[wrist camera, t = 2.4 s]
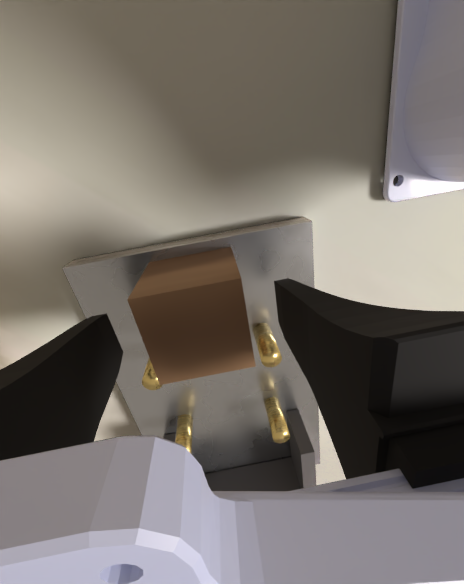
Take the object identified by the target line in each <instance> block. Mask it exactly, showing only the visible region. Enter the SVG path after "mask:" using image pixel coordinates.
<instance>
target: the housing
mask: <svg viewBox="0 0 464 584" xmlns="http://www.w3.org/2000/svg"><path fill="white" fill-rule="evenodd" d="M287 420H288V430H289V434H290V448H291V457H289V458H284V459H279V460H273V461H268V462H263V463H258V464H253V465H248V466H243V467H238V468H233V469H228V470H223V471H218V472H213V473H208V474H204V475H205V477H206V480H207V483H208V486H209V488H210V489H211V491H292V490H297V489H302V488H307V487H312V486H316V470H315V452H314V449H313V446H312V444H311V441H310V439H309V436H308V433H307V431H306V428H305V426H304V423H303V420H302V418H301V415H300V413H299V410H298V409H295V410H290V411H287ZM164 439H167V440H170V441H172V442H175V439H176V433H173V434H168V435H164Z"/></svg>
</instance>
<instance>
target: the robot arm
mask: <svg viewBox="0 0 464 584" xmlns="http://www.w3.org/2000/svg"><path fill="white" fill-rule="evenodd" d="M396 176H398V182H397V183H396V185H393V180H394V178H395V177H396ZM462 189H464V0H398V9H397V22H396V34H395V47H394V60H393V72H392V85H391V98H390V110H389V123H388V136H387V148H386V161H385V174H384V186H383V197H384V198H385V200H387V201H390V202H398V201H404V200H409V199H414V198H420V197H425V196H430V195H436V194H441V193H446V192H451V191H457V190H462ZM274 286H275V295H276V304H277V314H278V322H279V325H280V328H281V330H282V333H283V336H284V338H285V340H286V342H287V344H288V346H289V348H290V350H291V352H292V353H293V355H294V357H295V359H296V361H297V363H298V364H299V366H300V368H301V370H302V372H303V373H304V375H305V377H306V379H307V381H308V383H309V385H310V387H311V389H312V392H313V394H314V396H315V399H316V401H317V404H318V406H319V409H320V411H321V414H322V416H323V419H324V421H325V424H326V426H327V429H328V431H329V434H330V436H331V439H332V442H333V444H334V447H335V450H336V452H337V455H338V458H339V460H340V463H341V466H342V468H343V471H344V474H345V477H346V480H341V481H336V482H331V483H326V484H321V485H317V486H312V487H307V488H302V489H297V490H292V491H211V489H210V488H209V486H208V483H207V480H206V477H205V475H204V472H203V469H202V466H201V465H200V464H199V462H198V461H197V460H196V459H195V458H194V457H193V455H192V454H191V453H190V452H189V451H188V450H187V449H186V447H184V446H183V445H181V444H178V443H175V442H172V441H170V440H167V439H164V438H161V437H158V436H156V435H144V436H120V437H115V438H110V439H105V440H100V441H95V442H94V439H95V435H96V431H97V428H98V426H99V423H100V420H101V417H102V415H103V412H104V410H105V407H106V405H107V402H108V400H109V397H110V395H111V392H112V390H113V387H114V384H115V382H116V379H117V376H118V374H119V370H120V366H121V362H122V356H123V350H122V348H121V345H120V343H119V341H118V338H117V336H116V334H115V331H114V329H113V327H112V324H111V322H110V320H109V317H108V315H107V313H106V314H101V315H96V316H92V317H89V318H87V319H85V320H83V321H81V322H80V323H78V324H76V325H75V326H73V327H72V328H70V329H68V330H67V331H65V332H64V333H62V334H60V335H59V336H57V337H56V338H54V339H53V340H51V341H50V342H48V343H46V344H45V345H43V346H41V347H40V348H38V349H36V350H35V351H33V352H31V353H30V354H28V355H26V356H25V357H23V358H21V359H20V360H18V361H16V362H14V363H12V364H11V365H9V366H7V367H5V368H3V369H1V370H0V584H464V311H422V310H407V309H397V308H389V307H383V306H376V305H370V304H365V303H360V302H356V301H352V300H348V299H344V298H340V297H337V296H334V295H331V294H328V293H325V292H322V291H320V290H317V289H315V288H312V287H310V286H307V285H305V284H302V283H300V282H298V281H295V280H292V279H289V278H287V279H282V280H277V281H274Z"/></svg>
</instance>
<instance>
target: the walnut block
mask: <svg viewBox="0 0 464 584" xmlns="http://www.w3.org/2000/svg"><path fill="white" fill-rule="evenodd" d="M127 301H128V303H129V306H130V308H131V311H132V314H133V316H134V319H135V322H136V324H137V327H138V329H139V332H140V335H141V337H142V340H143V342H144V345H145V348H146V350H147V353H148V355H149V358H150V361H151V363H152V366H153V368H154V371H155V374H156V376H157V379H158V381H159V384H160V385H163V384H168V383H173V382H178V381H184V380H189V379H194V378H199V377H204V376H209V375H214V374H220V373H225V372H230V371H235V370H240V369H245V368H251V367H256V365H255V359H254V353H253V347H252V340H251V334H250V328H249V322H248V316H247V310H246V304H245V298H244V292H243V286H242V279H241V276H240V273H239V270H238V266H237V263H236V260H235V257H234V254H233V251H232V248H231V247H227V248H222V249H217V250H211V251H206V252H201V253H195V254H190V255H185V256H179V257H174V258H169V259H164V260H158V261H153V262H149V263H148V265H147V267H146V268H145V270H144V272H143V274H142V275H141V277H140V279H139V280H138V282H137V284H136V286H135V287H134V289H133V291H132V292H131V294H130V296H129V298H128V299H127Z"/></svg>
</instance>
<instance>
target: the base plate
mask: <svg viewBox="0 0 464 584" xmlns="http://www.w3.org/2000/svg"><path fill="white" fill-rule="evenodd" d="M227 247H231V248H232V251H233V254H234V257H235V260H236V263H237V266H238V270H239V273H240V276H241V279H242V286H243V292H244V298H245V304H246V310H247V316H248V322H249V328H250V334H251V340H252V347H253V353H254V359H255V365H256V367H251V368H245V369H240V370H235V371H230V372H225V373H220V374H214V375H209V376H204V377H199V378H194V379H189V380H184V381H178V382H173V383H168V384H163V385H160V384H159V381H158V379H157V376H156V374H155V371H154V368H153V366H152V363H151V361H150V358H149V355H148V353H147V350H146V348H145V345H144V342H143V340H142V337H141V335H140V332H139V329H138V327H137V324H136V322H135V319H134V316H133V314H132V311H131V308H130V306H129V303H128V301H127V299H128V298H129V296H130V294H131V292H132V291H133V289H134V287H135V286H136V284H137V282H138V280H139V279H140V277H141V275H142V274H143V272H144V270H145V268H146V267H147V265H148V263H149V262H153V261H158V260H164V259H169V258H174V257H179V256H185V255H190V254H195V253H201V252H206V251H211V250H217V249H222V248H227ZM62 269H63V271H64V273H65V275H66V277H67V280H68V282H69V284H70V286H71V288H72V290H73V292H74V294H75V296H76V298H77V300H78V303H79V305H80V307H81V309H82V311H83V313H84V315H85V317H86V319H87V318H89V317H92V316H96V315H101V314H106V313H107V315H108V317H109V320H110V322H111V324H112V327H113V329H114V331H115V334H116V336H117V338H118V341H119V343H120V345H121V348H122V350H123V356H122V362H121V366H120V370H119V374H118V376H117V379H116V382H117V384H118V386H119V388H120V391H121V393H122V395H123V397H124V399H125V401H126V403H127V405H128V407H129V409H130V411H131V414H132V416H133V418H134V420H135V422H136V424H137V426H138V428H139V430H140V432H141V435H142V436H144V435H156V436H158V437H161V438H164V435H168V434H173V433H176V439H175V443H178V444H181V445H183V446H184V447H186V449H187V450H188V451H189V452H190V453H191V454H192V455H193V457H194V458H195V459H196V460H197V461H198V462H199V464H200V465H201V466H202V469H203V472H204V474H208V473H213V472H218V471H223V470H228V469H233V468H238V467H243V466H248V465H253V464H258V463H263V462H268V461H273V460H279V459H284V458H289V457H291V448H290V434H289V430H288V420H287V411H290V410H295V409H298V410H299V413H300V415H301V418H302V420H303V423H304V426H305V428H306V431H307V433H308V436H309V439H310V441H311V444H312V446H313V449H314V452H315V464H320V446H319V415H318V404H317V401H316V399H315V396H314V394H313V392H312V389H311V387H310V385H309V383H308V381H307V379H306V377H305V375H304V373H303V372H302V370H301V368H300V366H299V364H298V363H297V361H296V359H295V357H294V355H293V353H292V352H291V350H290V348H289V346H288V344H287V342H286V340H285V338H284V336H283V333H282V330H281V328H280V325H279V322H278V314H277V304H276V295H275V286H274V281H277V280H282V279H287V278H289V279H292V280H295V281H298V282H300V283H302V284H305V285H307V286H310V287H312V288H314V265H313V235H312V221H311V220H309V219H307V218H305V217H300V218H294V219H289V220H284V221H278V222H273V223H268V224H262V225H257V226H252V227H247V228H241V229H236V230H231V231H225V232H220V233H215V234H209V235H204V236H199V237H193V238H188V239H183V240H177V241H172V242H167V243H161V244H156V245H151V246H146V247H140V248H135V249H130V250H124V251H119V252H114V253H108V254H103V255H98V256H92V257H87V258H82V259H76V260H73V261H71V262H70V263H69V264H67V265H66V266H64V267H63V268H62Z"/></svg>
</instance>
